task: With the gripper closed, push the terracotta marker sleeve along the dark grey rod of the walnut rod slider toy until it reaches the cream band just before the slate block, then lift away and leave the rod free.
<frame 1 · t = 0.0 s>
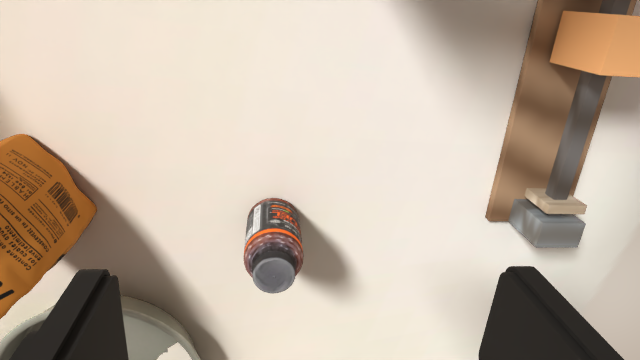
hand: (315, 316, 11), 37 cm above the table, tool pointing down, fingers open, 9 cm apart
coffee package: (37, 191, 47), on the table
cake pan: (113, 359, 57), on the table
rod slider toy: (555, 102, 49), on the table
supplement bottle: (273, 218, 51), on the table
marker sleeve: (609, 42, 42), point 5 cm above the table, slide at 0.0 cm
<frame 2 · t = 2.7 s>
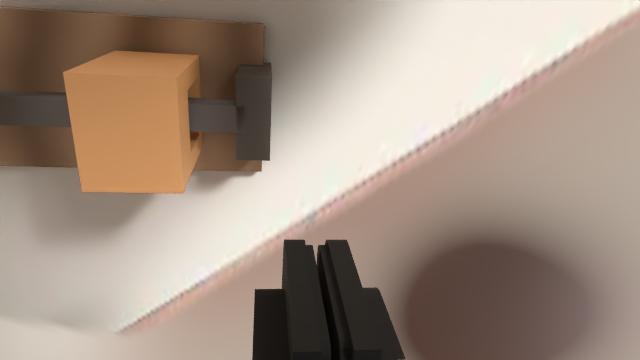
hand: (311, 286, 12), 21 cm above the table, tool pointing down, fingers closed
rod slider toy: (55, 90, 29), on the table
marker sleeve: (146, 116, 25), point 5 cm above the table, slide at 0.0 cm
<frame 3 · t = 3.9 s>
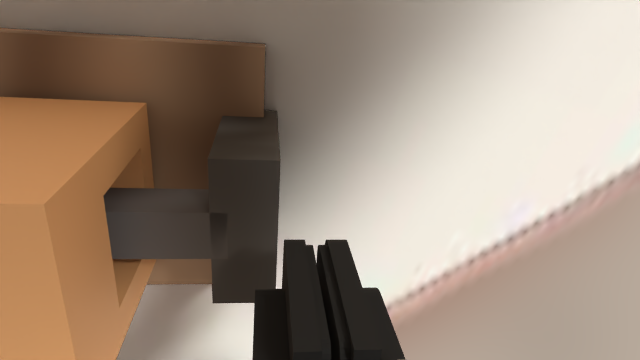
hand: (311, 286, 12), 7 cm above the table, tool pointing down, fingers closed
marker sleeve: (30, 235, 13), point 5 cm above the table, slide at 0.0 cm
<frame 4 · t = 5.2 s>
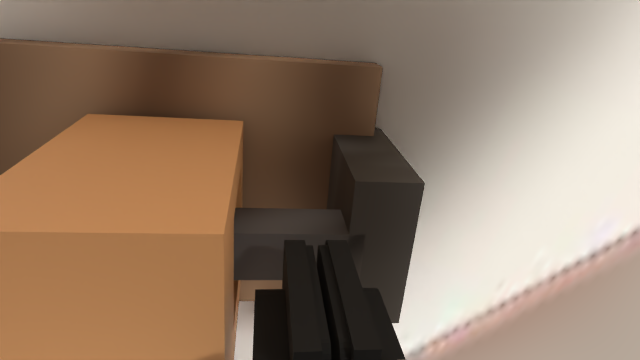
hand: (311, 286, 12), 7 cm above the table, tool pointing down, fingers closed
rod slider toy: (6, 177, 16), on the table
marker sleeve: (145, 257, 12), point 5 cm above the table, slide at 0.8 cm, touching gripper
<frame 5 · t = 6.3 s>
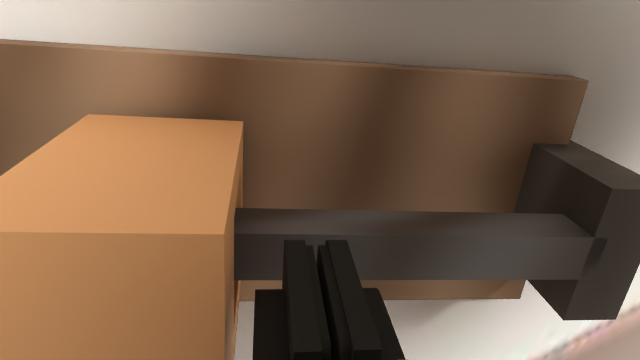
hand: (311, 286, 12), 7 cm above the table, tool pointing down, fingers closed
rod slider toy: (222, 183, 17), on the table
marker sleeve: (146, 257, 12), point 5 cm above the table, slide at 8.7 cm, touching gripper
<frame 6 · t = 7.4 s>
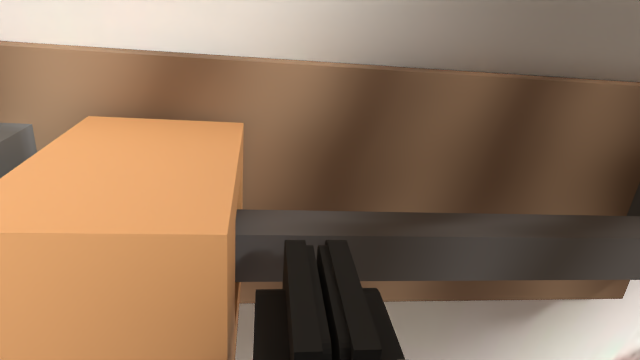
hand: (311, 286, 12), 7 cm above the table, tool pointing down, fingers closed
rod slider toy: (354, 188, 18), on the table
marker sleeve: (146, 258, 12), point 5 cm above the table, slide at 14.0 cm, touching rod slider toy, gripper
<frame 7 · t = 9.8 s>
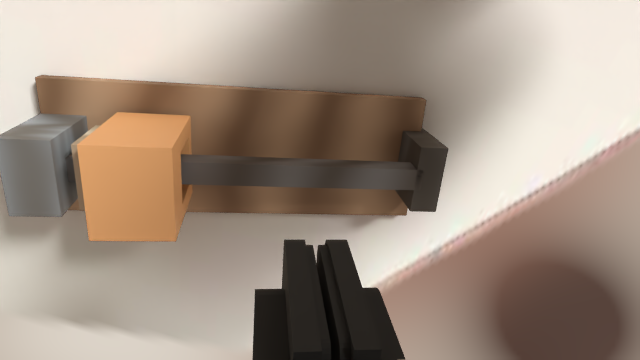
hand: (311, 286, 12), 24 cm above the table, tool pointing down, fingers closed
rod slider toy: (249, 150, 35), on the table
marker sleeve: (144, 172, 29), point 5 cm above the table, slide at 13.7 cm
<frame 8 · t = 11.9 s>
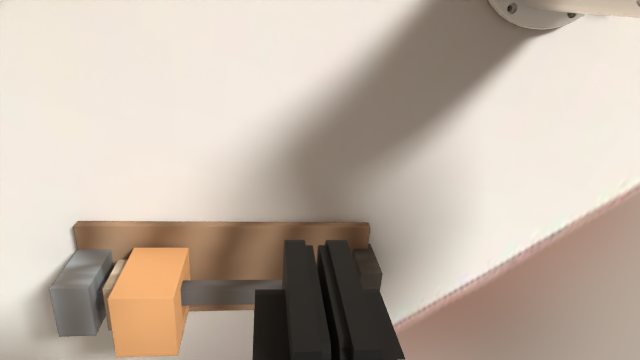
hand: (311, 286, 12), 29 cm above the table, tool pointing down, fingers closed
rod slider toy: (234, 264, 45), on the table
marker sleeve: (154, 298, 40), point 5 cm above the table, slide at 13.7 cm
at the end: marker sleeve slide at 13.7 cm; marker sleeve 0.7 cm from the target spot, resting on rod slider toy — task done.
